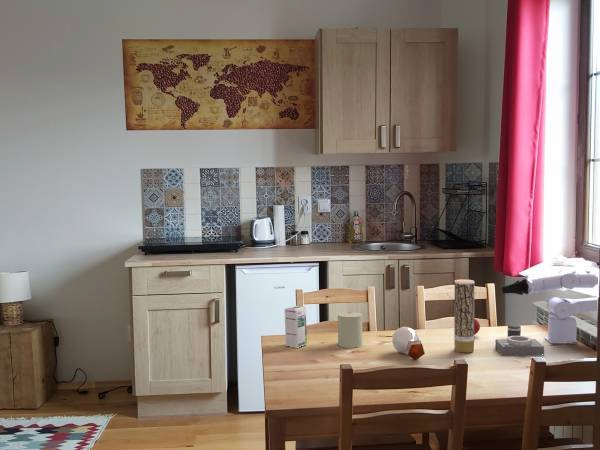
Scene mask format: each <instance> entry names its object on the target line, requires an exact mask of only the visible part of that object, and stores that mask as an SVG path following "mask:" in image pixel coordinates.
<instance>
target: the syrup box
mask: <svg viewBox="0 0 600 450" xmlns="http://www.w3.org/2000/svg"><path fill="white" fill-rule="evenodd" d="M306 309H307V308H306V307H305V306H303V305H293V306H289V307H285V308H284V331H285V332H284V333H285V335H284V336H285V346H286V347H287V346H291V347H296V348H295V349H297V348H298V349H299V347H300V348H302V347H304V345H305V346H307V345H308V338H307V335H308V334H307V316H306V315H307V310H306ZM306 344H307V345H306ZM301 346H302V347H301ZM291 347H290V348H291Z"/></svg>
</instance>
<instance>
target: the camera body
mask: <svg viewBox="0 0 600 450" xmlns="http://www.w3.org/2000/svg"><path fill="white" fill-rule="evenodd" d="M495 349H498V350H499V351H500V352H499V351H498V350H497V351H498V352H499V353H500V354H501V356H544V355H545V354H544V353H545V347H544V345H543V344H541V342H539V341H538V340H537V339H535V338H531V337H529V336H525V335H524V336H523V335H521V336H509V337H508V336H507V337H506V338H499V339H498V338H495ZM542 354H543V355H542Z"/></svg>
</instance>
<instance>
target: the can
mask: <svg viewBox="0 0 600 450" xmlns="http://www.w3.org/2000/svg"><path fill="white" fill-rule="evenodd" d="M338 345H339V346H338ZM337 346H338V347H340V346H341V347H340V348H343V347H345V349H355V347H357V348H360V346H361V347H362V346H363V313H361V312H359V311H341V312H339V313H337Z"/></svg>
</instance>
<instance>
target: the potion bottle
mask: <svg viewBox="0 0 600 450" xmlns="http://www.w3.org/2000/svg"><path fill="white" fill-rule="evenodd" d="M391 339H392V341H391V342H392V346H393V348H394V350H395V351H398V352H399V353H400V354H404V355H407V357H409V358H410V359H412V360H413V361H415V360H416V361H417V360H419V359H420V358H421V357H423V356H424V355H425V350H424V345H423V343H422V341H421V340H420V338H419V335H418V331H416V330H414V329H413V328H411V327H409V326H402V327H399V328H397V329H396V330H395V331H394V332H393V334H392V337H391Z"/></svg>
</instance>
